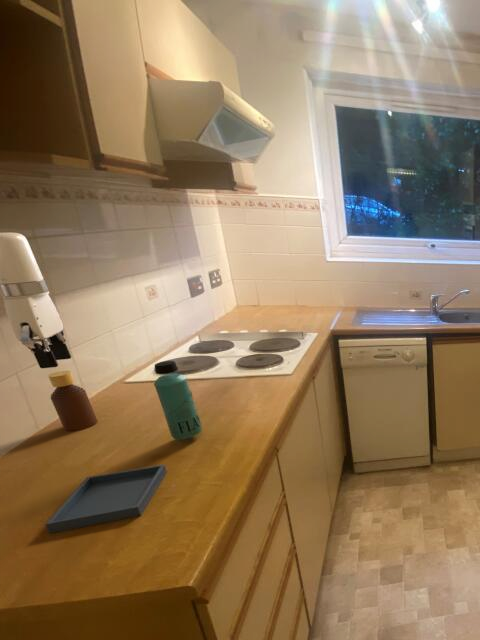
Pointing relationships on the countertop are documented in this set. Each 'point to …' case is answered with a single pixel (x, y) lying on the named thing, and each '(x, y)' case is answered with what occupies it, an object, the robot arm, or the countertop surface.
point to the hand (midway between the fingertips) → (56, 362)
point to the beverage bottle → (177, 401)
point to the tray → (108, 498)
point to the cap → (61, 378)
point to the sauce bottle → (73, 407)
